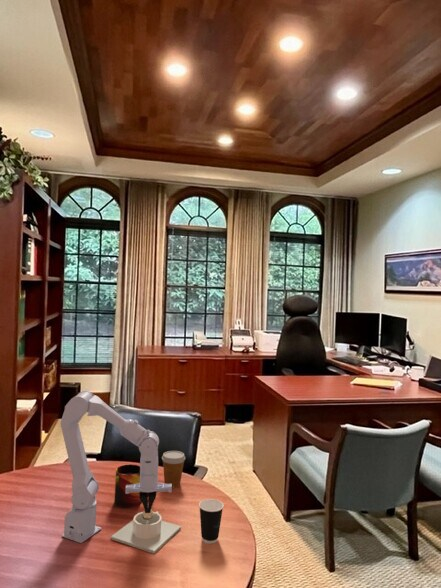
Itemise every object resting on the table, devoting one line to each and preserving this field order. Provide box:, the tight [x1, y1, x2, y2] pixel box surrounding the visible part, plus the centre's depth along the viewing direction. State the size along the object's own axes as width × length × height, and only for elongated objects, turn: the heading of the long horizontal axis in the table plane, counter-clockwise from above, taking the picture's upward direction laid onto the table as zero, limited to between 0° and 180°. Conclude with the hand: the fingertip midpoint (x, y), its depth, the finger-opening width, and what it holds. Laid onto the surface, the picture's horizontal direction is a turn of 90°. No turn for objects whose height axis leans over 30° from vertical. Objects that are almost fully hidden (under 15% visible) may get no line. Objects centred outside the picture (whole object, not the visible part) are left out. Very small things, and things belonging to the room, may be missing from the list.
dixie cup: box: [198, 498, 225, 545], centre depth 139 cm, size 8×8×11 cm
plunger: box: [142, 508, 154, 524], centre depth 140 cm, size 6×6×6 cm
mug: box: [113, 464, 149, 510], centre depth 163 cm, size 10×14×12 cm
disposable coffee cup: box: [161, 450, 186, 488], centre depth 178 cm, size 10×10×12 cm
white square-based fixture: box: [110, 511, 182, 554], centre depth 140 cm, size 16×16×5 cm
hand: (148, 514), depth 140 cm, fingers closed, pressing on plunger
